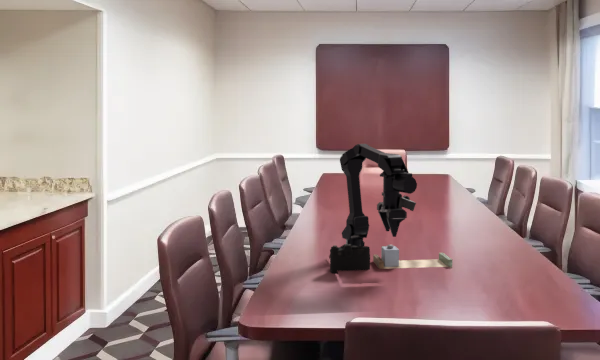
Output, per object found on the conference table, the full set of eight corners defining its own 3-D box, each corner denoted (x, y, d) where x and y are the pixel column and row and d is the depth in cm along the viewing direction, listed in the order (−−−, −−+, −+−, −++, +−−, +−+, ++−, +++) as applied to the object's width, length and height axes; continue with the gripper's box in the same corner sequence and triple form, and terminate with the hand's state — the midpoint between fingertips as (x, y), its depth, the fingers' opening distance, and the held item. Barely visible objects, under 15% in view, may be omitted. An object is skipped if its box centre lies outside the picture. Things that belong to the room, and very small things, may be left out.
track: (379, 271, 193) (379, 261, 193) (373, 263, 203) (373, 254, 203) (452, 269, 195) (452, 259, 195) (442, 261, 205) (442, 252, 205)
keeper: (384, 266, 195) (385, 247, 195) (381, 262, 201) (381, 243, 200) (398, 266, 196) (399, 246, 195) (394, 262, 201) (395, 243, 200)
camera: (366, 265, 202) (366, 238, 200) (371, 273, 191) (371, 245, 190) (328, 266, 201) (328, 238, 200) (330, 274, 191) (330, 245, 189)
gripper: (422, 193, 187) (421, 239, 189) (406, 186, 205) (405, 228, 207) (389, 194, 186) (389, 240, 188) (376, 187, 204) (376, 228, 206)
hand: (390, 233), depth 197 cm, fingers open, 9 cm apart
